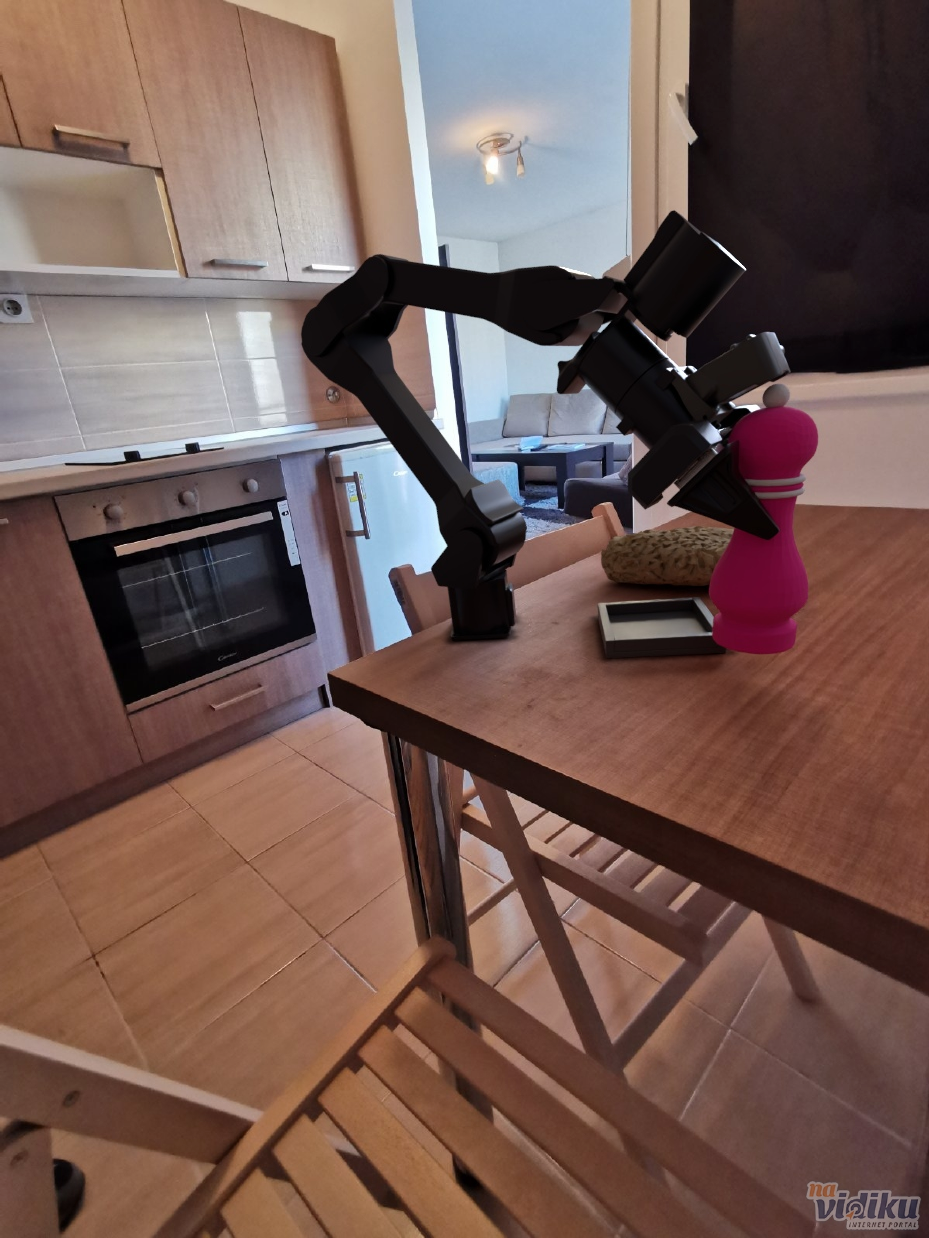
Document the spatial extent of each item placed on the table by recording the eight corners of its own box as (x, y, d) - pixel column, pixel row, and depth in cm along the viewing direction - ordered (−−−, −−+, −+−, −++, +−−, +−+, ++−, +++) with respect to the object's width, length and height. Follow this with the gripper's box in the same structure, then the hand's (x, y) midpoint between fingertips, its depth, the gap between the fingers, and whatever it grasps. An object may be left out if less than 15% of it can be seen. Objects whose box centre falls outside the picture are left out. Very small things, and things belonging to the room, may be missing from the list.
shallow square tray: (606, 658, 55) (605, 640, 54) (598, 618, 65) (597, 603, 64) (726, 652, 53) (726, 634, 53) (699, 612, 63) (699, 596, 62)
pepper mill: (805, 630, 50) (838, 378, 43) (797, 663, 44) (833, 379, 38) (714, 620, 54) (731, 386, 47) (697, 649, 48) (713, 389, 41)
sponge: (598, 600, 74) (771, 584, 60) (590, 538, 73) (762, 507, 60) (645, 588, 83) (803, 571, 70) (638, 533, 83) (795, 505, 69)
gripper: (676, 287, 36) (868, 471, 33) (752, 303, 49) (892, 434, 47) (565, 429, 43) (715, 588, 40) (657, 409, 57) (774, 527, 54)
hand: (781, 528), depth 45 cm, fingers closed on pepper mill, 5 cm apart
